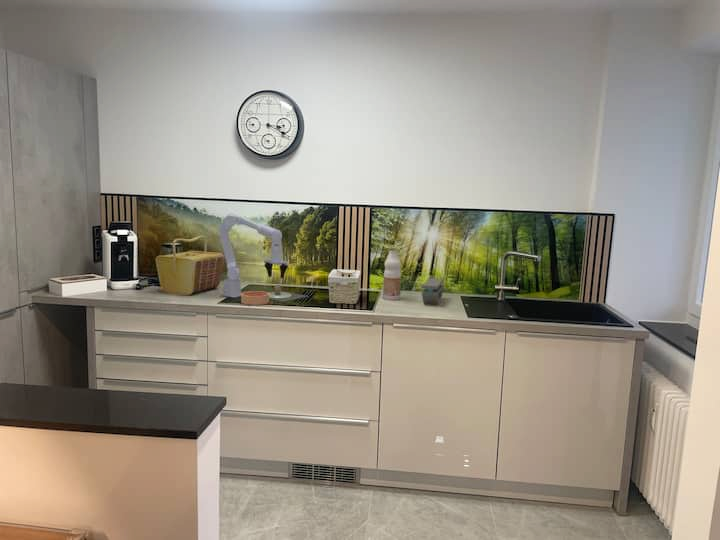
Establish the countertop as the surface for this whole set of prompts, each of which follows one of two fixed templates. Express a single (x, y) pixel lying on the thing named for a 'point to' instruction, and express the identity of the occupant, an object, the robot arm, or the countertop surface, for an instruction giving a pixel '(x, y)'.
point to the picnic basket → (189, 270)
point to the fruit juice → (392, 276)
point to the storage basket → (344, 286)
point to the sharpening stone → (432, 291)
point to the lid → (278, 293)
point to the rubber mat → (293, 297)
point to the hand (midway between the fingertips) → (276, 277)
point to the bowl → (255, 298)
